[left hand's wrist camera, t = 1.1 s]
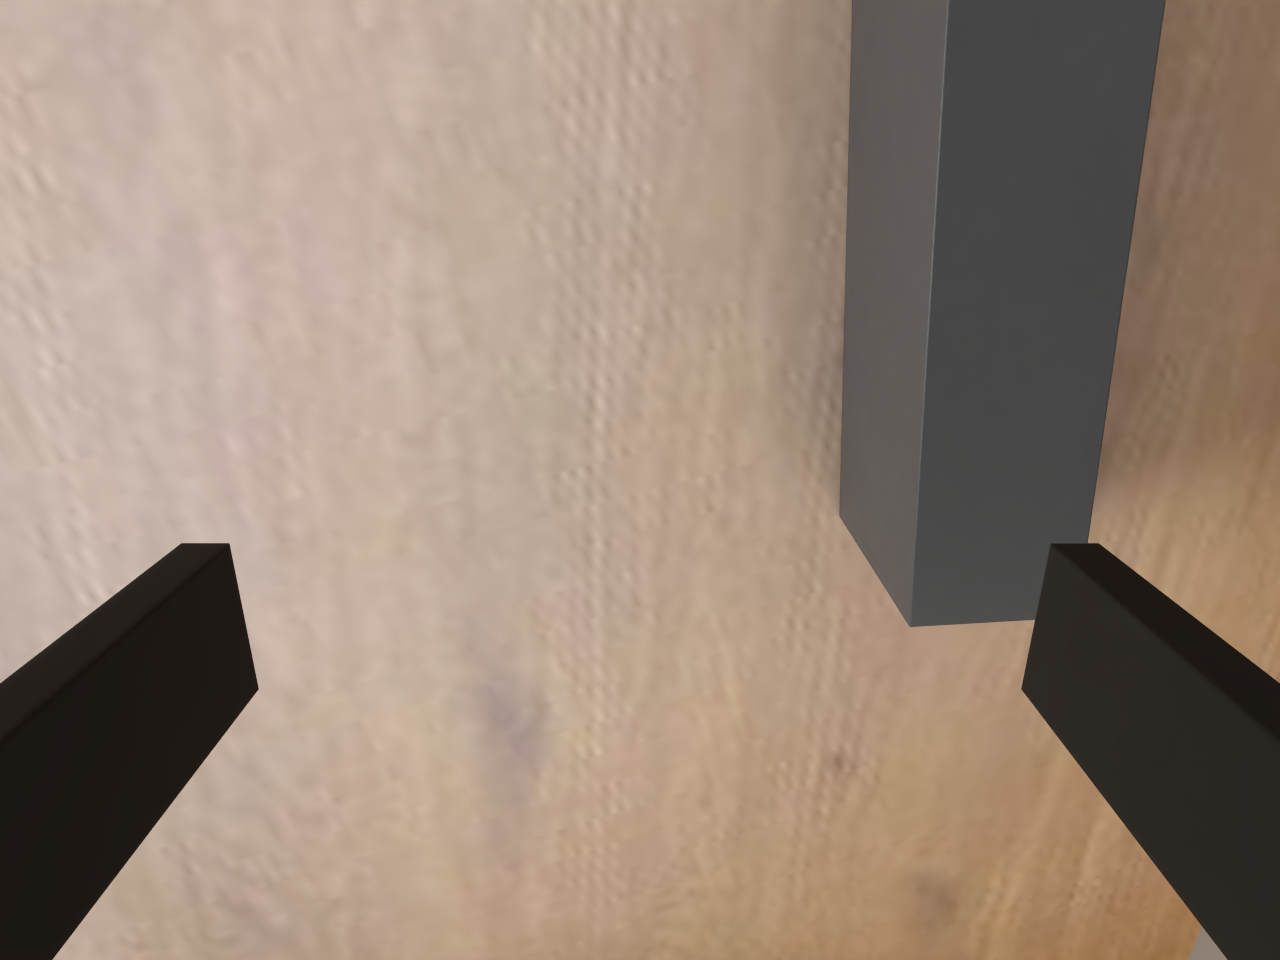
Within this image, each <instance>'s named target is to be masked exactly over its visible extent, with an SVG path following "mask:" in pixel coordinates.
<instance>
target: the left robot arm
mask: <svg viewBox="0 0 1280 960" xmlns="http://www.w3.org/2000/svg"><path fill="white" fill-rule="evenodd" d="M257 691H258V684H257V679H256V674H255V669H254V664H253V659H252V654H251V649H250V644H249V639H248V634H247V629H246V624H245V619H244V614H243V609H242V604H241V599H240V594H239V589H238V584H237V579H236V574H235V569H234V564H233V559H232V554H231V549H230V544H229V543H181V544H180V545H179V546H177V547H176V548H175V549H174V550H172V551H171V552H170V553H168V554H167V555H166V556H165V557H163V558H162V559H161V560H159V561H158V562H157V563H155V564H154V565H153V566H152V567H150V568H149V569H148V570H146V571H145V572H144V573H143V574H141V575H140V576H139V577H137V578H136V579H135V580H133V581H132V582H131V583H130V584H128V585H127V586H126V587H124V588H123V589H122V590H121V591H119V592H118V593H117V594H115V595H114V596H113V597H111V598H110V599H109V600H108V601H106V602H105V603H104V604H102V605H101V606H100V607H99V608H97V609H96V610H95V611H93V612H92V613H91V614H89V615H88V616H87V617H86V618H84V619H83V620H82V621H80V622H79V623H78V624H77V625H75V626H74V627H73V628H71V629H70V630H69V631H67V632H66V633H65V634H64V635H62V636H61V637H60V638H58V639H57V640H56V641H55V642H53V643H52V644H51V645H49V646H48V647H47V648H46V649H44V650H43V651H42V652H40V653H39V654H38V655H36V656H35V657H34V658H33V659H31V660H30V661H29V662H27V663H26V664H25V665H24V666H22V667H21V668H20V669H18V670H17V671H16V672H14V673H13V674H12V675H11V676H9V677H8V678H7V679H5V680H4V681H3V682H2V683H0V960H52V959H53V958H54V957H55V955H56V954H57V953H58V952H59V950H60V949H61V948H62V946H63V945H64V944H65V942H66V941H67V940H68V938H69V937H70V936H71V934H72V933H73V932H74V931H75V929H76V928H77V927H78V925H79V924H80V923H81V921H82V920H83V919H84V917H85V916H86V915H87V913H88V912H89V911H90V910H91V908H92V907H93V906H94V904H95V903H96V902H97V900H98V899H99V898H100V896H101V895H102V894H103V893H104V891H105V890H106V889H107V887H108V886H109V885H110V883H111V882H112V881H113V879H114V878H115V877H116V875H117V874H118V873H119V872H120V870H121V869H122V868H123V866H124V865H125V864H126V862H127V861H128V860H129V858H130V857H131V856H132V854H133V853H134V852H135V851H136V849H137V848H138V847H139V845H140V844H141V843H142V841H143V840H144V839H145V837H146V836H147V835H148V834H149V832H150V831H151V830H152V828H153V827H154V826H155V824H156V823H157V822H158V820H159V819H160V818H161V816H162V815H163V814H164V813H165V811H166V810H167V809H168V807H169V806H170V805H171V803H172V802H173V801H174V799H175V798H176V797H177V795H178V794H179V793H180V792H181V790H182V789H183V788H184V786H185V785H186V784H187V782H188V781H189V780H190V778H191V777H192V776H193V774H194V773H195V772H196V771H197V769H198V768H199V767H200V765H201V764H202V763H203V761H204V760H205V759H206V757H207V756H208V755H209V754H210V752H211V751H212V750H213V748H214V747H215V746H216V744H217V743H218V742H219V740H220V739H221V738H222V736H223V735H224V734H225V733H226V731H227V730H228V729H229V727H230V726H231V725H232V723H233V722H234V721H235V719H236V718H237V717H238V715H239V714H240V713H241V712H242V710H243V709H244V708H245V706H246V705H247V704H248V702H249V701H250V700H251V698H252V697H253V696H254V695H255V693H256V692H257ZM1022 691H1023V692H1024V693H1025V694H1026V696H1027V697H1028V698H1029V700H1030V701H1031V702H1032V704H1033V705H1034V706H1035V708H1036V709H1037V710H1038V712H1039V713H1040V714H1041V715H1042V717H1043V718H1044V719H1045V721H1046V722H1047V723H1048V725H1049V726H1050V727H1051V729H1052V730H1053V731H1054V733H1055V734H1056V735H1057V736H1058V738H1059V739H1060V740H1061V742H1062V743H1063V744H1064V746H1065V747H1066V748H1067V750H1068V751H1069V752H1070V754H1071V755H1072V756H1073V757H1074V759H1075V760H1076V761H1077V763H1078V764H1079V765H1080V767H1081V768H1082V769H1083V771H1084V772H1085V773H1086V774H1087V776H1088V777H1089V778H1090V780H1091V781H1092V782H1093V784H1094V785H1095V786H1096V788H1097V789H1098V790H1099V792H1100V793H1101V794H1102V795H1103V797H1104V798H1105V799H1106V801H1107V802H1108V803H1109V805H1110V806H1111V807H1112V809H1113V810H1114V811H1115V813H1116V814H1117V815H1118V816H1119V818H1120V819H1121V820H1122V822H1123V823H1124V824H1125V826H1126V827H1127V828H1128V830H1129V831H1130V832H1131V834H1132V835H1133V836H1134V837H1135V839H1136V840H1137V841H1138V843H1139V844H1140V845H1141V847H1142V848H1143V849H1144V851H1145V852H1146V853H1147V854H1148V856H1149V857H1150V858H1151V860H1152V861H1153V862H1154V864H1155V865H1156V866H1157V868H1158V869H1159V870H1160V872H1161V873H1162V874H1163V875H1164V877H1165V878H1166V879H1167V881H1168V882H1169V883H1170V885H1171V886H1172V887H1173V889H1174V890H1175V891H1176V893H1177V894H1178V895H1179V896H1180V898H1181V899H1182V900H1183V902H1184V903H1185V904H1186V906H1187V907H1188V908H1189V910H1190V911H1191V912H1192V913H1193V915H1194V916H1195V917H1196V919H1197V920H1198V921H1199V923H1200V924H1201V925H1202V927H1203V928H1204V929H1205V931H1206V932H1207V933H1208V934H1209V936H1210V937H1211V938H1212V940H1213V941H1214V942H1215V944H1216V945H1217V946H1218V948H1219V949H1220V950H1221V951H1222V953H1223V954H1224V955H1225V957H1226V958H1227V959H1228V960H1280V683H1278V682H1277V681H1276V680H1275V679H1273V678H1272V677H1271V676H1269V675H1268V674H1267V673H1266V672H1264V671H1263V670H1262V669H1260V668H1259V667H1258V666H1256V665H1255V664H1254V663H1253V662H1251V661H1250V660H1249V659H1247V658H1246V657H1245V656H1244V655H1242V654H1241V653H1240V652H1238V651H1237V650H1236V649H1235V648H1233V647H1232V646H1231V645H1229V644H1228V643H1227V642H1225V641H1224V640H1223V639H1222V638H1220V637H1219V636H1218V635H1216V634H1215V633H1214V632H1213V631H1211V630H1210V629H1209V628H1207V627H1206V626H1205V625H1203V624H1202V623H1201V622H1200V621H1198V620H1197V619H1196V618H1194V617H1193V616H1192V615H1191V614H1189V613H1188V612H1187V611H1185V610H1184V609H1183V608H1181V607H1180V606H1179V605H1178V604H1176V603H1175V602H1174V601H1172V600H1171V599H1170V598H1169V597H1167V596H1166V595H1165V594H1163V593H1162V592H1161V591H1159V590H1158V589H1157V588H1156V587H1154V586H1153V585H1152V584H1150V583H1149V582H1148V581H1147V580H1145V579H1144V578H1143V577H1141V576H1140V575H1139V574H1137V573H1136V572H1135V571H1134V570H1132V569H1131V568H1130V567H1128V566H1127V565H1126V564H1125V563H1123V562H1122V561H1121V560H1119V559H1118V558H1117V557H1115V556H1114V555H1113V554H1112V553H1110V552H1109V551H1108V550H1106V549H1105V548H1104V547H1103V546H1101V545H1100V544H1099V543H1051V544H1050V549H1049V554H1048V559H1047V564H1046V569H1045V574H1044V579H1043V584H1042V589H1041V594H1040V599H1039V604H1038V609H1037V614H1036V619H1035V624H1034V629H1033V634H1032V639H1031V644H1030V649H1029V654H1028V659H1027V664H1026V669H1025V674H1024V679H1023V684H1022Z"/></svg>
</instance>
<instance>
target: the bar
mask: <svg viewBox="0 0 1280 960" xmlns="http://www.w3.org/2000/svg"><path fill="white" fill-rule="evenodd" d="M1164 7H1165V0H852V37H851V78H850V118H849V158H848V198H847V238H846V279H845V319H844V359H843V399H842V440H841V480H840V518H841V519H842V521H843V522H844V524H845V526H846V527H847V529H848V530H849V532H850V533H851V535H852V537H853V538H854V540H855V541H856V543H857V544H858V546H859V548H860V549H861V551H862V552H863V554H864V556H865V557H866V559H867V560H868V562H869V563H870V565H871V567H872V568H873V570H874V571H875V573H876V574H877V576H878V578H879V579H880V581H881V582H882V584H883V585H884V587H885V589H886V590H887V592H888V593H889V595H890V596H891V598H892V600H893V601H894V603H895V604H896V606H897V608H898V609H899V611H900V612H901V614H902V615H903V617H904V619H905V620H906V622H907V623H908V625H909V626H910V627H917V626H935V625H952V624H969V623H986V622H1003V621H1021V620H1035V619H1036V614H1037V609H1038V604H1039V599H1040V594H1041V589H1042V584H1043V579H1044V574H1045V569H1046V564H1047V559H1048V554H1049V549H1050V544H1051V543H1088V537H1089V530H1090V523H1091V516H1092V509H1093V502H1094V495H1095V488H1096V481H1097V474H1098V467H1099V460H1100V453H1101V446H1102V439H1103V432H1104V425H1105V418H1106V411H1107V404H1108V397H1109V390H1110V383H1111V376H1112V369H1113V362H1114V355H1115V349H1116V342H1117V335H1118V328H1119V321H1120V314H1121V307H1122V300H1123V293H1124V286H1125V279H1126V272H1127V265H1128V258H1129V251H1130V244H1131V237H1132V230H1133V223H1134V216H1135V209H1136V202H1137V195H1138V188H1139V181H1140V174H1141V167H1142V160H1143V154H1144V147H1145V140H1146V133H1147V126H1148V119H1149V112H1150V105H1151V98H1152V91H1153V84H1154V77H1155V70H1156V63H1157V56H1158V49H1159V42H1160V35H1161V28H1162V21H1163V14H1164Z"/></svg>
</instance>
